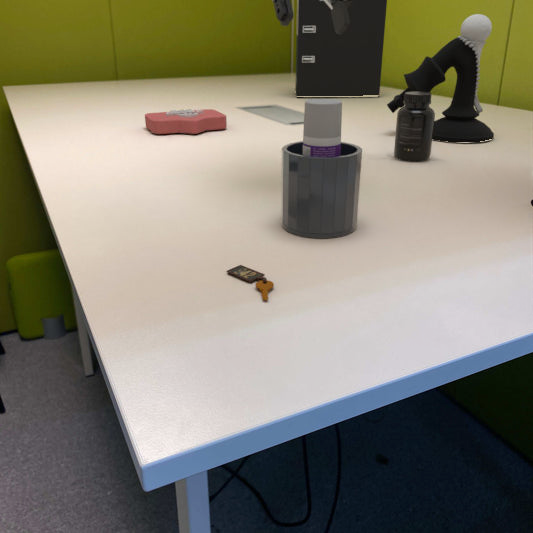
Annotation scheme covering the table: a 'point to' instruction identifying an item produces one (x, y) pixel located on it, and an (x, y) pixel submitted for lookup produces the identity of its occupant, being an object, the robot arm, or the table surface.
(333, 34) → the binder
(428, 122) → the supplement bottle
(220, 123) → the red sponge
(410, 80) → the sculpture
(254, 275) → the key tag
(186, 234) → the table surface
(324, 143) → the container
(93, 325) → the table surface
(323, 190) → the grey cylindrical cup
